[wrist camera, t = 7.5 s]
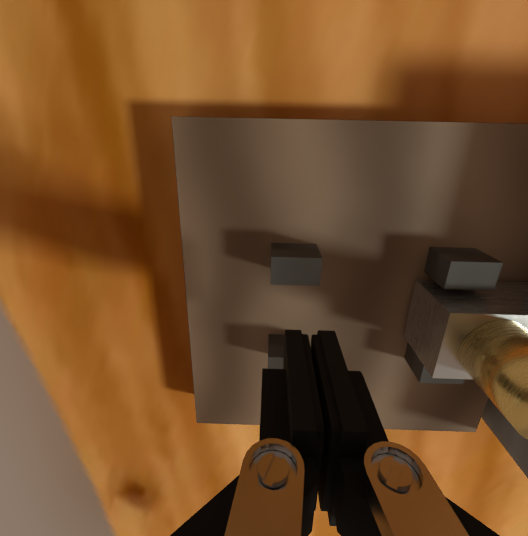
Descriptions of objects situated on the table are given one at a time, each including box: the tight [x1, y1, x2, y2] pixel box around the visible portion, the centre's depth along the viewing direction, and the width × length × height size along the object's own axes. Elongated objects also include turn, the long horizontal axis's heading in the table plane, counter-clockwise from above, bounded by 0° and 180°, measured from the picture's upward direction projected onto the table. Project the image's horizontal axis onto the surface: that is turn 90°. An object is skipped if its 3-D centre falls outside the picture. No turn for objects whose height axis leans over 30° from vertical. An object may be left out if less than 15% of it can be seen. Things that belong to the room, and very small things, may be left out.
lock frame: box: [171, 116, 528, 478], centre depth 14 cm, size 25×16×7 cm, turn 89°
